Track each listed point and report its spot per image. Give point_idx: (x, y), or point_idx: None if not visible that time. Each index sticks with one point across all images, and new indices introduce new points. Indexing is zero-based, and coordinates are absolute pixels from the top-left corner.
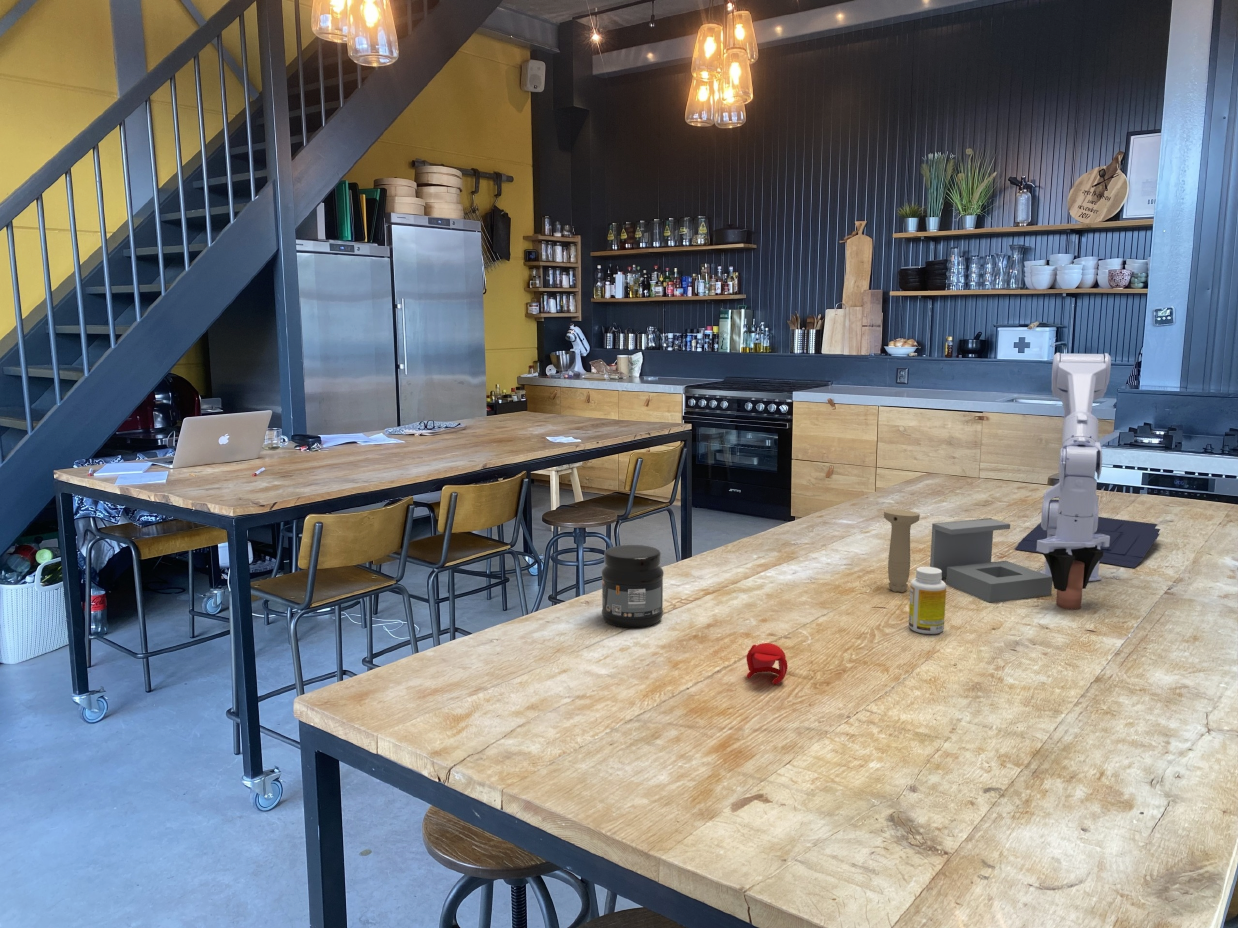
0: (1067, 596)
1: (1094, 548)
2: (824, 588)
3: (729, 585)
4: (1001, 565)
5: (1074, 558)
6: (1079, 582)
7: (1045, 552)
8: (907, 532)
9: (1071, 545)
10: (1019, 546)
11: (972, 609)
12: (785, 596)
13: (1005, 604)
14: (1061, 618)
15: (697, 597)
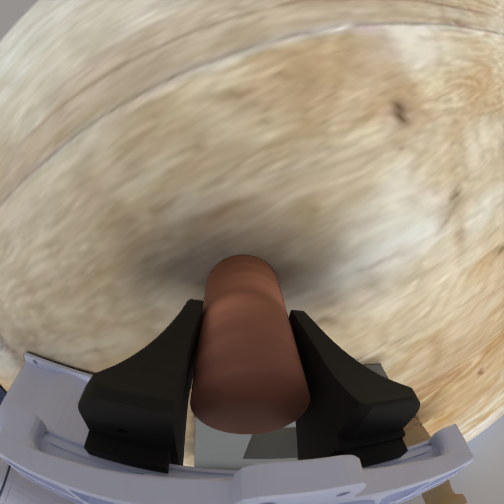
0: (280, 294)
1: (108, 439)
2: (442, 427)
3: (468, 429)
4: (234, 460)
5: (355, 398)
6: (254, 308)
7: (456, 426)
8: (445, 488)
9: (392, 471)
10: None
11: (436, 342)
12: (479, 407)
13: (367, 349)
14: (372, 221)
15: (500, 405)
